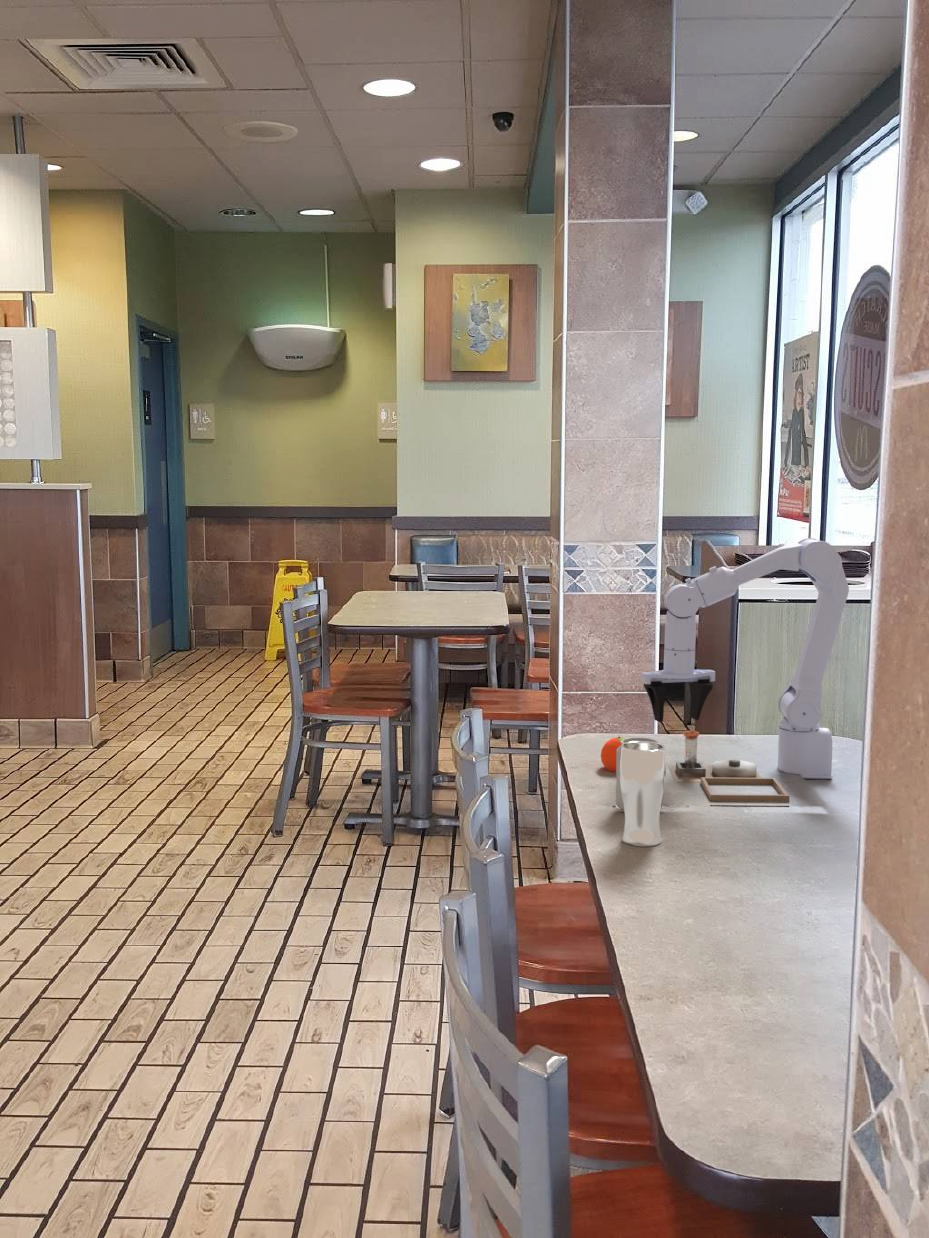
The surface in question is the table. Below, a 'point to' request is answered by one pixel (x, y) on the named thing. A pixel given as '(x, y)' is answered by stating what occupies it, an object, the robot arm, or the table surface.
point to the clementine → (610, 753)
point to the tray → (744, 797)
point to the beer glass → (642, 791)
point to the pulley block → (714, 770)
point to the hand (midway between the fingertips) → (676, 719)
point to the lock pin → (691, 748)
